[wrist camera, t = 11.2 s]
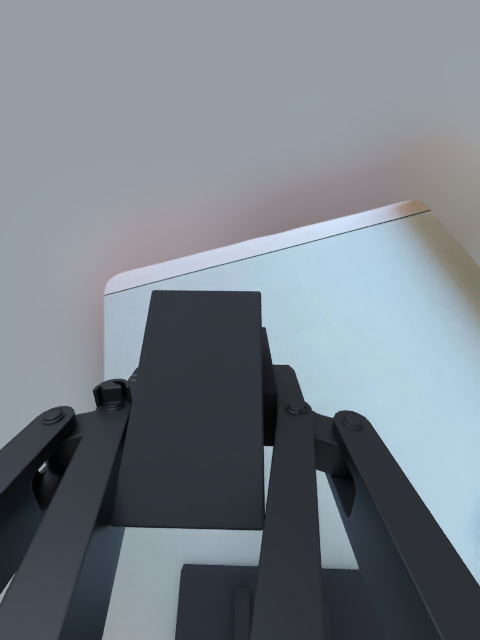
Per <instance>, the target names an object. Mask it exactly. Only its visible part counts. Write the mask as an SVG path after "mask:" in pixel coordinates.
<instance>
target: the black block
mask: <svg viewBox="0 0 480 640" xmlns="http://www.w3.org/2000/svg"><path fill="white" fill-rule="evenodd" d="M264 519H265V494H264V436H263V379H262V321H261V293H260V292H258V291H174V290H153V291H152V295H151V300H150V306H149V311H148V317H147V322H146V328H145V333H144V339H143V344H142V350H141V355H140V361H139V367H138V372H137V378H136V383H135V389H134V394H133V400H132V405H131V411H130V416H129V422H128V427H127V433H126V439H125V444H124V450H123V455H122V461H121V466H120V472H119V477H118V483H117V488H116V494H115V500H114V505H113V511H112V516H111V522H110V525H111V526H113V527H142V528H181V529H221V530H260V531H261V530H263V527H264Z"/></svg>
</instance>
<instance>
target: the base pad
mask: <svg viewBox="0 0 480 640" xmlns="http://www.w3.org/2000/svg"><path fill="white" fill-rule="evenodd" d="M258 568H259V567H253V566H224V565H194V564H184V565H183V568H182V570H181V579H180V590H179V601H178V612H177V624H176V635H175V640H250V633H251V624H252V616H253V608H254V600H255V592H256V584H257V576H258ZM322 585H323V603H324V620H325V637H326V640H385V639H384V636H383V633H382V630H381V628H380V625H379V622H378V619H377V617H376V614H375V611H374V608H373V605H372V603H371V600H370V597H369V594H368V591H367V589H366V586H365V583H364V580H363V577H362V575H361V572H360V570H342V569H322Z"/></svg>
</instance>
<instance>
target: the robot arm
mask: <svg viewBox="0 0 480 640" xmlns="http://www.w3.org/2000/svg"><path fill="white" fill-rule="evenodd" d="M137 372H138V368H136V370H135V371H134V372H133V374H132V376H130V378H129V379H128V381H127V380H124V379H112V380H108V381H105V382H102V383H101V384H99V385H97V386H96V387H95V388H94V389H93V393H94V397H95V402H96V406H97V409H96V410H95V411H93V412H88V413H83V414H78V415H75V412H74V409H73V408H71V407H68V406H60V407H55V408H52V409H50V410H48V411H46V412H43V413H42V414H41V415H39V416H38V417H37V418H35V419H34V420H33V421H32V422H31V423H30V424H29V425H28V426H27V427H25V428H24V429H23V430H22V431H21V432H20V433H19V434H18V435H17V436H16V437H14V438H13V439H12V440H11V441H10V442H9V443H8V444H6V445H5V446H4V447H3V448H2V449H1V450H0V594H1V593H2V591H3V589H4V588H5V587H6V585H7V584H8V582H9V581H10V579H11V578H12V576H13V575H14V573H15V572H16V573H15V575H14V577H13V579H12V581H11V583H10V585H9V587H8V589H7V591H6V594H5V595H4V598H3V600H2V601H1V604H0V640H102V636H103V631H104V626H105V622H106V617H107V612H108V607H109V602H110V597H111V593H112V588H113V583H114V578H115V573H116V569H117V564H118V559H119V554H120V549H121V545H122V540H123V535H124V530H125V527H113V526H111V525H110V522H111V516H112V511H113V505H114V500H115V494H116V488H117V483H118V477H119V472H120V466H121V461H122V455H123V450H124V444H125V439H126V433H127V427H128V422H129V416H130V411H131V405H132V400H133V394H134V389H135V383H136V378H137ZM262 379H263V436H264V446H274V447H273V455H272V463H271V471H270V479H269V487H268V495H267V503H266V511H265V519H264V527H263V536H262V544H261V552H260V560H259V568H258V576H257V584H256V592H255V600H254V608H253V616H252V624H251V633H250V640H326V637H325V620H324V603H323V585H322V568H321V551H320V534H319V516H318V499H317V482H316V470H319V471H322V472H325V474H326V477H327V479H328V482H329V485H330V488H331V491H332V493H333V496H334V499H335V502H336V505H337V507H338V510H339V513H340V516H341V519H342V521H343V524H344V527H345V530H346V533H347V535H348V538H349V541H350V544H351V547H352V549H353V552H354V555H355V558H356V561H357V563H358V566H359V569H360V572H361V575H362V577H363V580H364V583H365V586H366V589H367V591H368V594H369V597H370V600H371V603H372V605H373V608H374V611H375V614H376V617H377V619H378V622H379V625H380V628H381V630H382V633H383V636H384V639H385V640H480V586H479V584H478V583H477V581H476V580H475V578H474V577H473V575H472V574H471V572H470V571H469V569H468V568H467V566H466V565H465V563H464V562H463V560H462V559H461V557H460V556H459V555H458V553H457V552H456V550H455V549H454V547H453V546H452V544H451V543H450V541H449V540H448V538H447V537H446V535H445V534H444V532H443V531H442V529H441V528H440V526H439V525H438V523H437V522H436V520H435V519H434V517H433V516H432V514H431V513H430V511H429V510H428V508H427V507H426V505H425V504H424V502H423V501H422V499H421V498H420V496H419V495H418V493H417V492H416V490H415V489H414V487H413V486H412V484H411V483H410V481H409V480H408V478H407V477H406V475H405V474H404V472H403V471H402V469H401V468H400V466H399V465H398V463H397V462H396V460H395V459H394V457H393V456H392V454H391V453H390V451H389V450H388V448H387V447H386V446H385V444H384V443H383V441H382V440H381V438H380V437H379V435H378V434H377V432H376V431H375V429H374V428H373V426H372V425H371V423H370V422H369V421H368V420H367V419H366V418H365V417H364V416H362V415H360V414H359V413H356V412H353V411H347V410H344V411H339V412H337V413H336V414H335V416H334V418H331V417H327V416H323V415H320V414H317V413H316V412H314V411H312V409H311V406H310V405H309V404H308V403H306V402H305V401H304V398H303V395H302V392H301V389H300V386H299V383H298V380H297V377H296V374H295V371H294V370H293V369H292V368H291V367H290V366H289V365H272V359H271V354H270V349H269V344H268V338H267V333H266V328H265V327H262ZM44 462H45V464H46V466H45V467H44V468H43V469H42V470H41V471H40V472H39V471H38V469H39V468H40V467H41V466H42V465H43V464H44Z"/></svg>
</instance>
